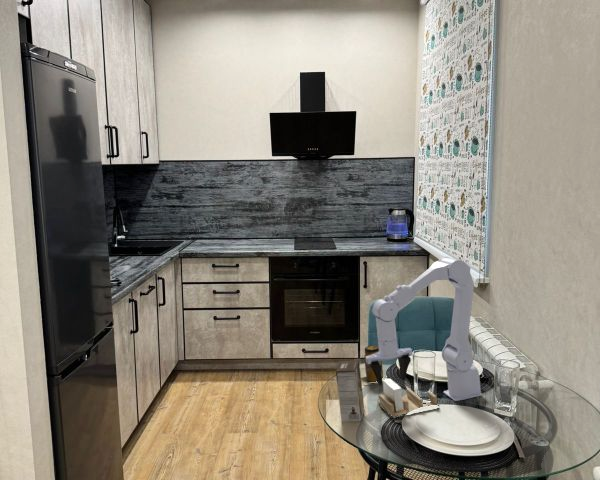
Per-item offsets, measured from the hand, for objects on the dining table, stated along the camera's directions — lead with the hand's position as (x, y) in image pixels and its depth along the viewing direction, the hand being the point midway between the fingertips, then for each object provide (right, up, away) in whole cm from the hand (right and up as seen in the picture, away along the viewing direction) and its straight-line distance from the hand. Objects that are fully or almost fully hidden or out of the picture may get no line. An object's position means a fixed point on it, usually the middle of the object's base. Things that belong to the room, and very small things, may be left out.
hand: (391, 381), depth 172 cm
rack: (+6, -8, +2) cm, 10 cm away
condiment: (-2, -7, +27) cm, 28 cm away
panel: (+1, -8, +1) cm, 8 cm away
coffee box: (-12, -11, 0) cm, 16 cm away
